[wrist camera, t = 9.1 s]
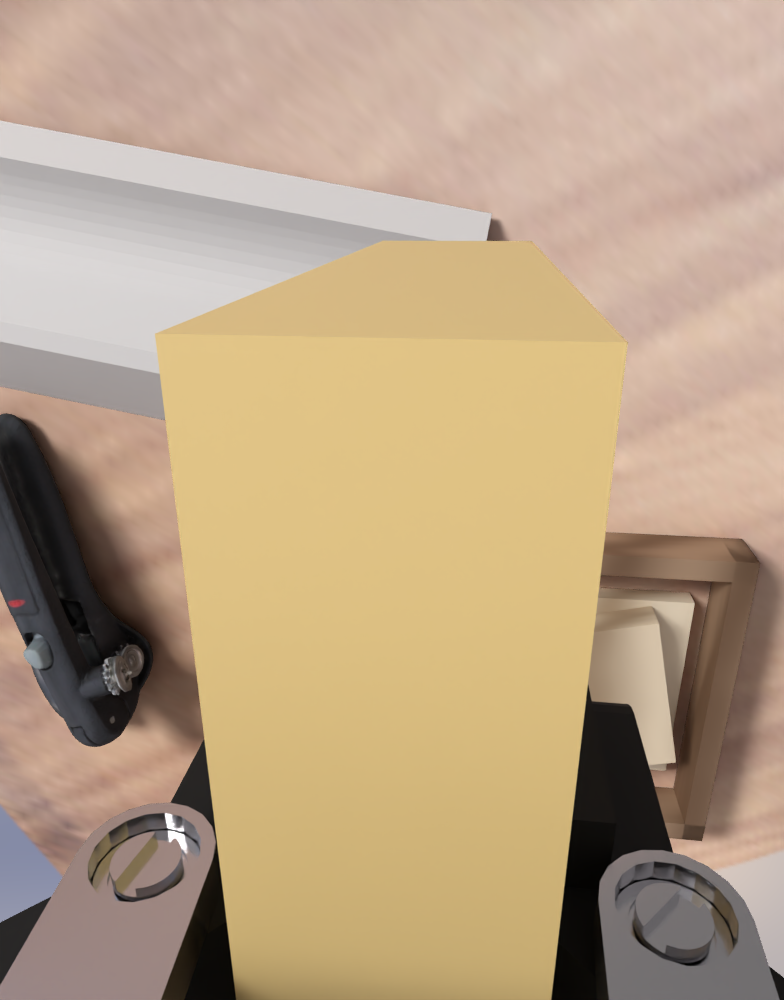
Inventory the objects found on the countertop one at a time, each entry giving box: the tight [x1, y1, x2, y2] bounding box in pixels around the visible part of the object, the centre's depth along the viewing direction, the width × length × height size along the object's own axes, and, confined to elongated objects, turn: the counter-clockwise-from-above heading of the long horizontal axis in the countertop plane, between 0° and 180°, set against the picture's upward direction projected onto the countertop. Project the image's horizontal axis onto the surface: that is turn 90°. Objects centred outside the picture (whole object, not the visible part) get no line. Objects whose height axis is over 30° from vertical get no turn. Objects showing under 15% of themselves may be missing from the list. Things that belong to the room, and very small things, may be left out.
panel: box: [155, 241, 628, 1000], centre depth 10 cm, size 2×12×9 cm, turn 0°
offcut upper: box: [588, 606, 676, 765], centre depth 36 cm, size 6×8×2 cm
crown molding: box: [0, 121, 492, 420], centre depth 33 cm, size 31×12×4 cm, turn 80°
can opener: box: [0, 413, 153, 747], centre depth 37 cm, size 18×7×6 cm, turn 12°
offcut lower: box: [596, 588, 695, 771], centre depth 38 cm, size 8×10×2 cm
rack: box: [601, 532, 760, 841], centre depth 36 cm, size 24×16×7 cm, turn 90°
